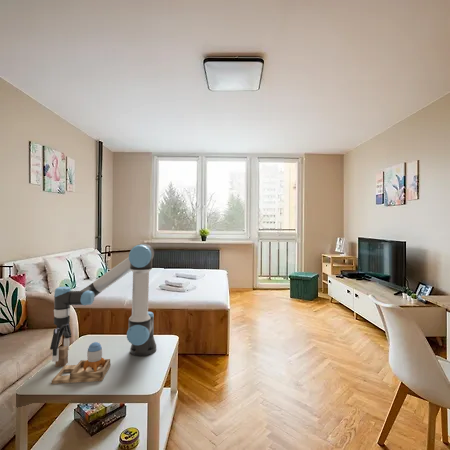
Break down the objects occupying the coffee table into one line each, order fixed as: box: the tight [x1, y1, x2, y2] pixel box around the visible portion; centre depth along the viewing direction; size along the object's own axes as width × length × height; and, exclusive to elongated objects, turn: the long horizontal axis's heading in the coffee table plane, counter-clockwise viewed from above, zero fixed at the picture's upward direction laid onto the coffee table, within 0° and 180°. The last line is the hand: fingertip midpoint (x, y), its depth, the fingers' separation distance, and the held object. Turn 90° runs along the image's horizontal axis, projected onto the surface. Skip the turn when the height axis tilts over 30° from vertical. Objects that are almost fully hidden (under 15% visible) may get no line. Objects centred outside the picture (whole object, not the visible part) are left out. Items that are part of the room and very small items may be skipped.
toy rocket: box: [84, 341, 105, 372], centre depth 148 cm, size 10×11×15 cm
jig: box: [51, 358, 112, 385], centre depth 147 cm, size 23×15×4 cm, turn 97°
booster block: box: [54, 345, 69, 368], centre depth 157 cm, size 4×4×9 cm
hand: (61, 355), depth 157 cm, fingers open, 13 cm apart
